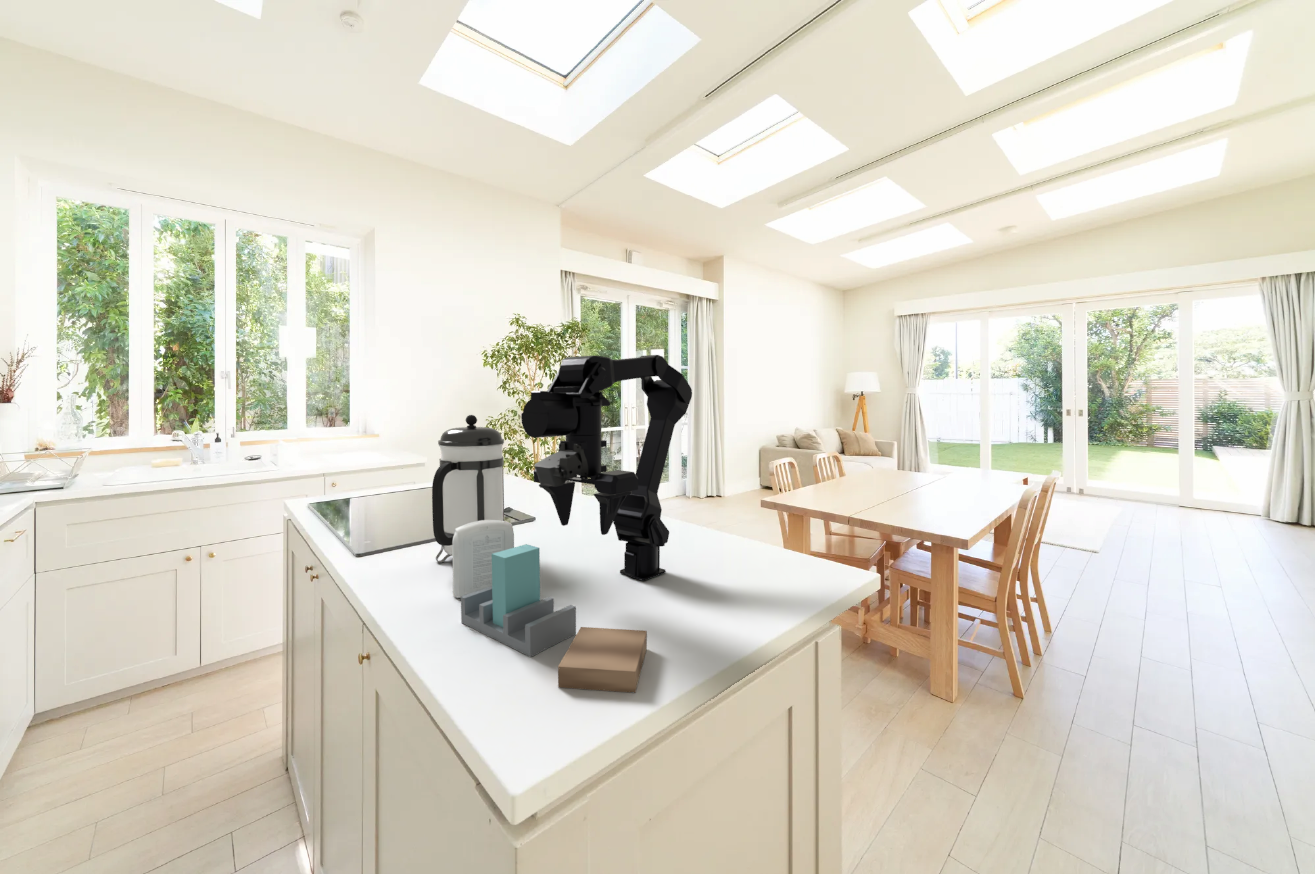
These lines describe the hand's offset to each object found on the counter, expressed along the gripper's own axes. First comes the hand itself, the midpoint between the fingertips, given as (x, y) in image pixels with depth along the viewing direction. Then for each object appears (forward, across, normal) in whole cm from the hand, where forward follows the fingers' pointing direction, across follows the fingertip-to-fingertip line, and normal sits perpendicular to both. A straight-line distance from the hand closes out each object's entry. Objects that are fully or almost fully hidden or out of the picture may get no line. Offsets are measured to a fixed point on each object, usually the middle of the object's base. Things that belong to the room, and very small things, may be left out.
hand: (583, 529), depth 80 cm
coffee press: (+12, -34, +1) cm, 36 cm away
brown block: (+12, +17, -13) cm, 24 cm away
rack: (+12, -1, -13) cm, 18 cm away
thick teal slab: (+10, -1, -13) cm, 17 cm away
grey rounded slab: (+12, -17, -8) cm, 22 cm away
